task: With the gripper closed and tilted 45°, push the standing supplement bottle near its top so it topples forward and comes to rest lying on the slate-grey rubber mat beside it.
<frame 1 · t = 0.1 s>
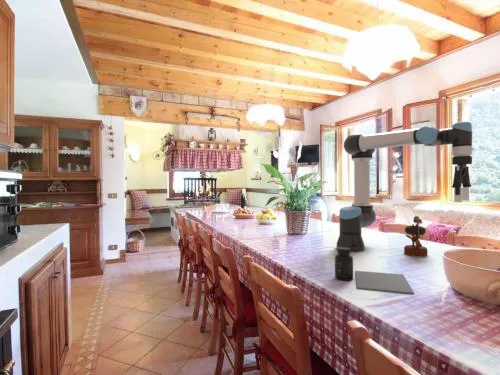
hand: (461, 201, 135), 28 cm above the table, tool pointing down, fingers open, 13 cm apart
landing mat: (381, 281, 109), on the table
supplement bottle: (344, 279, 114), on the table
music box: (414, 254, 150), on the table
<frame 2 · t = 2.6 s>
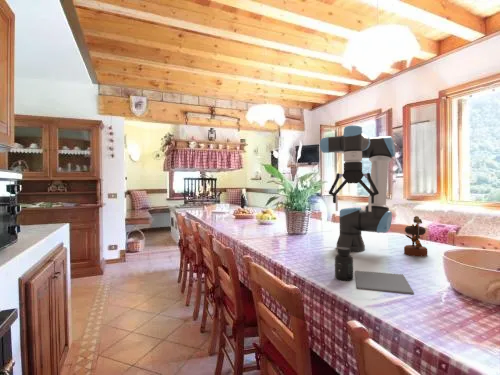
hand: (353, 211, 125), 25 cm above the table, tool pointing down, fingers open, 13 cm apart
nothing on the table moved.
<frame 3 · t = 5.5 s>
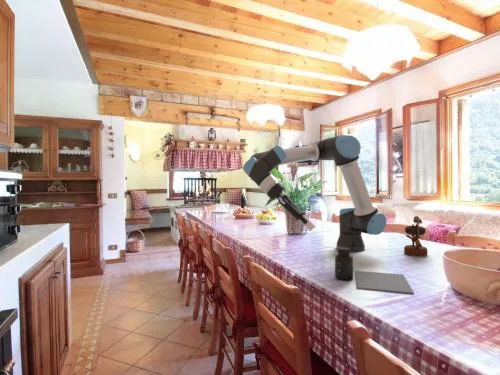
hand: (312, 228, 117), 19 cm above the table, tool tilted 45°, fingers closed
nothing on the table moved.
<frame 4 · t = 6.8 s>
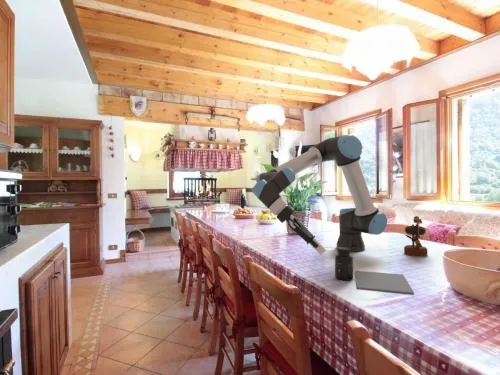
hand: (323, 252, 116), 10 cm above the table, tool tilted 45°, fingers closed
nothing on the table moved.
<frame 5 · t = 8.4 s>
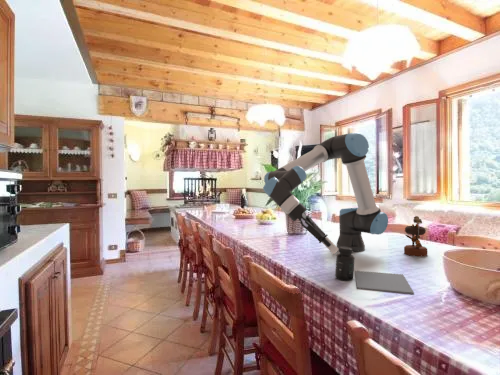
hand: (336, 251, 114), 11 cm above the table, tool tilted 45°, fingers closed
supplement bottle: (344, 278, 114), on the table, touching gripper
everything else where it was.
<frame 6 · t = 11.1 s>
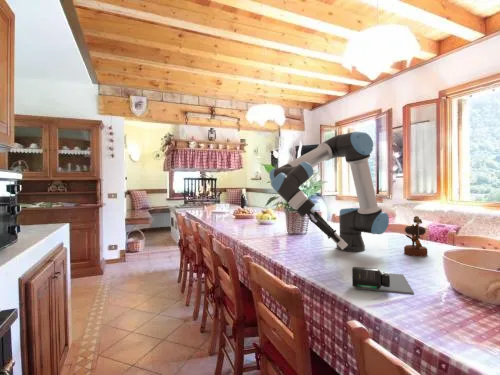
hand: (345, 247, 113), 12 cm above the table, tool tilted 45°, fingers closed
supplement bottle: (351, 276, 104), point 4 cm above the table, touching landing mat
everything else where it was.
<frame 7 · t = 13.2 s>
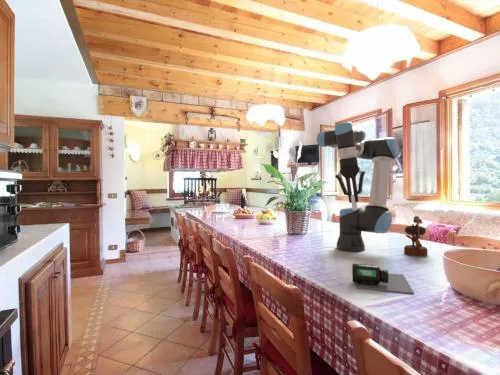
hand: (355, 209, 130), 25 cm above the table, tool pointing down, fingers closed
supplement bottle: (351, 272, 108), point 4 cm above the table, touching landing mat
everything else where it was.
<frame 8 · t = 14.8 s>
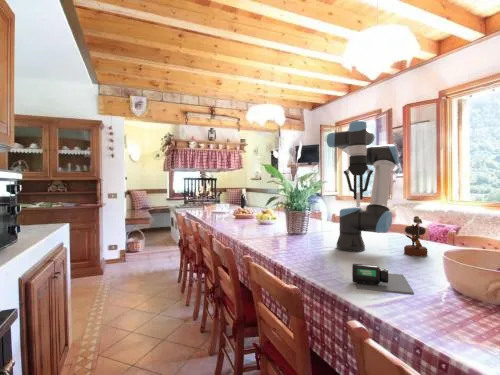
hand: (358, 206, 133), 26 cm above the table, tool pointing down, fingers closed
nothing on the table moved.
at the end: supplement bottle tilted 90°; supplement bottle touching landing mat; the gripper is holding nothing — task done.
